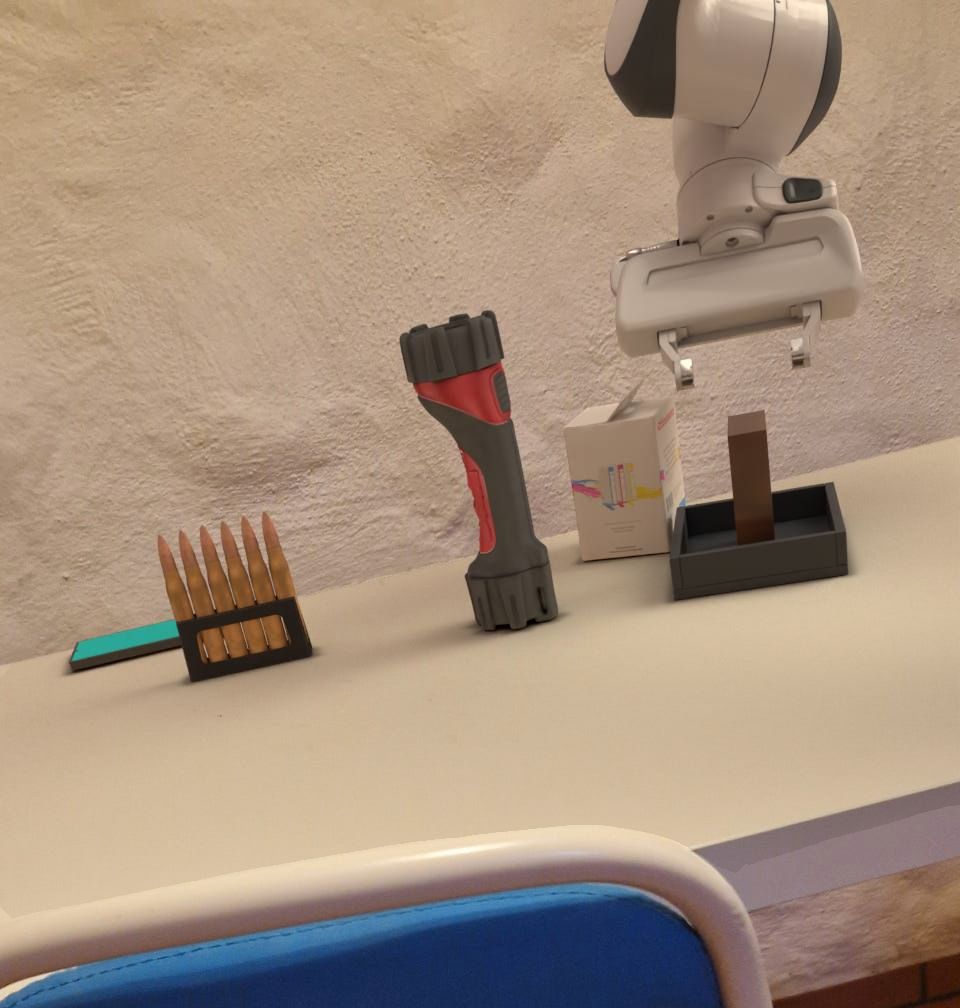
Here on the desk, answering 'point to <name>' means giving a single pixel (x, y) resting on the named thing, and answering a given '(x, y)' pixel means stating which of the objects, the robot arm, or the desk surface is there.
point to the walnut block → (750, 477)
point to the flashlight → (484, 464)
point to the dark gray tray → (758, 544)
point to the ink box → (625, 476)
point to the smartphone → (125, 644)
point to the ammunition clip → (227, 611)
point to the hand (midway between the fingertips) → (742, 375)
